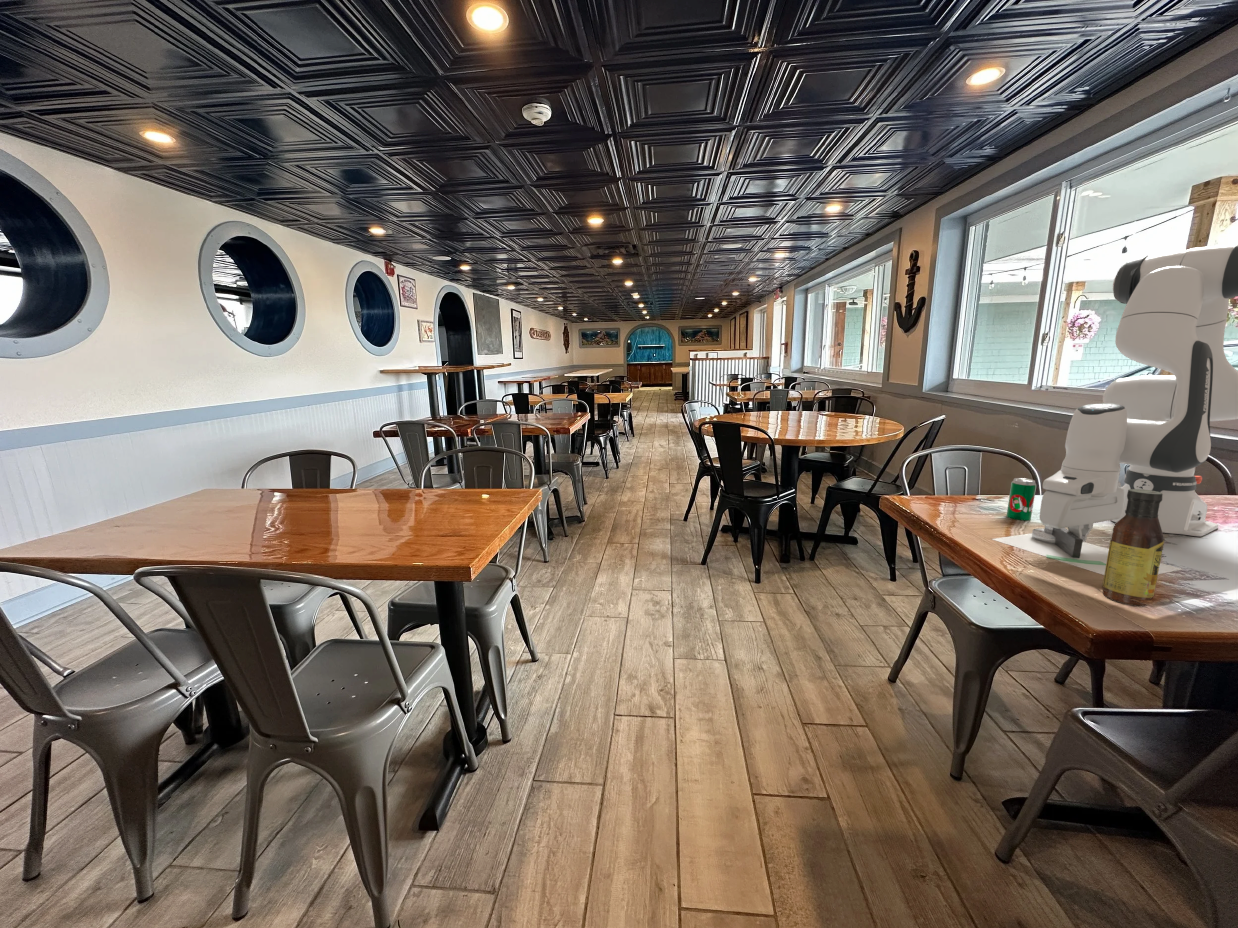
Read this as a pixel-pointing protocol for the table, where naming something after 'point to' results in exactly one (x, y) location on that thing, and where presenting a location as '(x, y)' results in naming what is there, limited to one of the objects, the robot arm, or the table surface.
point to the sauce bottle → (1135, 550)
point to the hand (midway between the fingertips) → (1077, 542)
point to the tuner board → (1089, 556)
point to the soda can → (1021, 499)
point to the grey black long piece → (1060, 539)
